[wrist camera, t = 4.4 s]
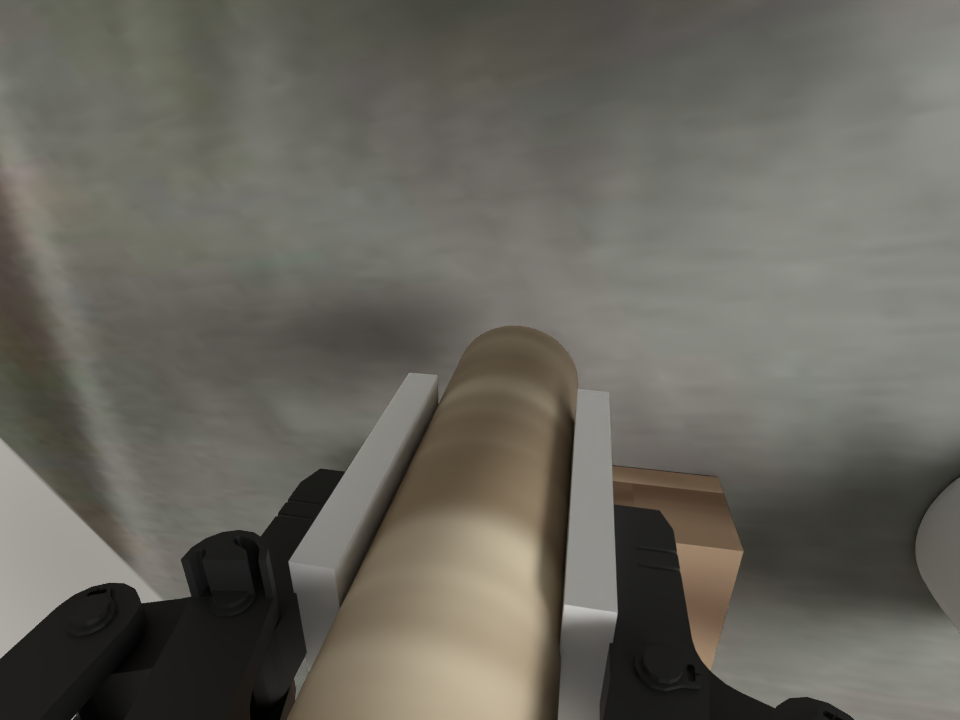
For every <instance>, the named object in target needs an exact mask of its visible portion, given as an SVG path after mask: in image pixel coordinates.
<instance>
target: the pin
mask: <svg viewBox="0 0 960 720" xmlns="http://www.w3.org/2000/svg"><path fill="white" fill-rule="evenodd" d="M577 390H578V377H577V371H576V368H575V365H574V363H573V360H572V358H571V357H570V355H569V354H568V352H567V351H566V350H565V348H564V347H563V346H562V345H561V344H560V343H559V342H558V341H556V340H555V339H554V338H552V337H551V336H549V335H547V334H545V333H544V332H541V331H539V330H536V329H533V328H529V327H523V326H504V327H499V328H495V329H492V330H490V331H487V332H486V333H484V334H482V335H480V336H479V337H477V338H476V339H475V340H474V341H473V342H472V343H471V344H470V345H469V346H468V347H467V349H466V350H465V352H464V354H463V355H462V357H461V359H460V361H459V364H458V366H457V368H456V370H455V372H454V374H453V376H452V378H451V380H450V382H449V384H448V386H447V388H446V390H445V392H444V395H443V397H442V399H441V401H440V403H439V405H438V407H437V409H436V411H435V413H434V415H433V417H432V419H431V421H430V423H429V426H428V428H427V430H426V432H425V434H424V436H423V438H422V440H421V442H420V444H419V446H418V448H417V450H416V452H415V454H414V457H413V459H412V461H411V463H410V465H409V467H408V469H407V471H406V473H405V475H404V477H403V479H402V481H401V483H400V485H399V488H398V490H397V492H396V494H395V496H394V498H393V500H392V502H391V504H390V506H389V508H388V510H387V512H386V514H385V516H384V519H383V521H382V523H381V525H380V527H379V529H378V531H377V533H376V535H375V537H374V539H373V541H372V543H371V545H370V547H369V550H368V552H367V554H366V556H365V558H364V560H363V562H362V564H361V566H360V568H359V570H358V572H357V574H356V576H355V578H354V581H353V583H352V585H351V587H350V589H349V591H348V593H347V595H346V597H345V599H344V601H343V603H342V605H341V607H340V609H339V612H338V614H337V616H336V618H335V620H334V622H333V624H332V626H331V628H330V630H329V632H328V634H327V636H326V638H325V640H324V643H323V645H322V647H321V649H320V651H319V653H318V655H317V657H316V659H315V661H314V663H313V665H312V667H311V669H310V671H309V674H308V676H307V678H306V680H305V682H304V684H303V686H302V688H301V690H300V692H299V694H298V696H297V698H296V700H295V702H294V704H293V707H292V709H291V711H290V713H289V715H288V717H287V719H286V720H558V707H559V691H560V674H561V655H560V649H559V648H560V633H561V617H562V602H563V587H564V572H565V556H566V541H567V526H568V511H569V495H570V480H571V465H572V449H573V434H574V420H575V410H576V400H577Z"/></svg>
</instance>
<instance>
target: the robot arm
mask: <svg viewBox="0 0 960 720" xmlns="http://www.w3.org/2000/svg"><path fill="white" fill-rule="evenodd" d="M437 407H438V375H431V374H420V373H410V372H409V373H408V375H407V377H406V378H405V380H404V381H403V383H402V384H401V386H400V387H399V389H398V391H397V392H396V394H395V395H394V397H393V398H392V400H391V402H390V403H389V405H388V406H387V408H386V409H385V411H384V413H383V414H382V416H381V417H380V419H379V420H378V422H377V424H376V425H375V427H374V428H373V430H372V431H371V433H370V435H369V436H368V438H367V439H366V441H365V442H364V444H363V445H362V447H361V449H360V450H359V452H358V453H357V455H356V456H355V458H354V460H353V461H352V463H351V464H350V466H349V467H348V469H347V471H346V472H343V471H335V470H327V469H319V470H318V471H316V472H315V473H313V474H312V475H311V476H309V477H308V478H306V479H305V480H303V481H302V482H301V483H300V484H299V485H298V487H297V488H296V489H295V491H294V492H293V493H292V495H291V496H290V498H289V499H288V503H287V502H286V503H285V504H284V506H283V507H282V509H281V510H280V511H279V513H278V516H277V517H275V518H274V519H273V521H272V522H271V524H270V525H269V526H268V528H267V529H266V530H265V532H264V533H263V534H262V536H261V537H260V536H259V535H257V534H255V533H254V532H248V531H242V530H236V531H227V532H222V533H219V534H216V535H213V536H211V537H208V538H206V539H204V540H203V541H201V542H200V543H198V544H196V545H195V546H193V547H192V548H191V549H190V550H189V551H188V552H187V553H186V554H185V556H184V557H183V558H182V559H181V562H182V565H183V568H184V572H185V575H186V579H187V582H188V586H189V589H190V593H191V596H192V597H187V598H182V599H175V600H167V601H158V602H150V603H141V601H140V598H139V596H138V594H137V592H136V590H135V589H134V588H132V587H130V586H128V585H126V584H124V583H107V584H103V585H98V586H93V587H91V588H88V589H86V590H84V591H82V592H79V593H77V594H75V595H74V596H72V597H70V598H69V599H68V600H66V601H65V602H64V603H62V604H61V605H59V606H58V607H57V608H56V609H55V610H53V611H52V612H51V613H50V614H49V615H48V616H47V617H46V618H45V619H44V620H42V621H41V622H40V623H39V624H38V625H37V626H36V627H35V628H34V629H33V630H32V631H30V632H29V633H28V634H27V635H26V636H25V637H24V638H23V639H22V640H20V642H18V643H17V644H16V645H15V646H14V647H13V648H12V649H11V650H10V651H8V652H7V653H6V654H5V655H4V656H3V657H2V658H1V659H0V720H71V719H72V718H73V717H74V716H75V714H76V716H75V717H74V719H73V720H286V719H287V717H288V715H289V713H290V711H291V709H292V707H293V704H294V702H295V693H296V687H295V682H294V677H295V675H296V673H297V671H298V669H299V667H300V665H301V663H302V661H303V659H304V657H306V663H307V668H308V674H309V671H310V669H311V667H312V665H313V663H314V661H315V659H316V657H317V655H318V653H319V651H320V649H321V647H322V645H323V643H324V640H325V638H326V636H327V634H328V632H329V630H330V628H331V626H332V624H333V622H334V620H335V618H336V616H337V614H338V612H339V609H340V607H341V605H342V603H343V601H344V599H345V597H346V595H347V593H348V591H349V589H350V587H351V585H352V583H353V581H354V578H355V576H356V574H357V572H358V570H359V568H360V566H361V564H362V562H363V560H364V558H365V556H366V554H367V552H368V550H369V547H370V545H371V543H372V541H373V539H374V537H375V535H376V533H377V531H378V529H379V527H380V525H381V523H382V521H383V519H384V516H385V514H386V512H387V510H388V508H389V506H390V504H391V502H392V500H393V498H394V496H395V494H396V492H397V490H398V488H399V485H400V483H401V481H402V479H403V477H404V475H405V473H406V471H407V469H408V467H409V465H410V463H411V461H412V459H413V457H414V454H415V452H416V450H417V448H418V446H419V444H420V442H421V440H422V438H423V436H424V434H425V432H426V430H427V428H428V426H429V423H430V421H431V419H432V417H433V415H434V413H435V411H436V409H437ZM559 649H560V655H561V674H560V691H559V707H558V720H854V719H853V718H852V717H851V716H850V715H848V714H846V713H845V712H843V711H841V710H839V709H838V708H836V707H834V706H832V705H831V704H829V703H826V702H823V701H819V700H816V699H812V698H809V697H801V698H789V699H787V700H786V701H784V702H783V703H781V704H780V705H778V706H776V709H775V708H773V707H771V706H769V705H767V704H764V703H762V702H760V701H758V700H756V699H754V698H751V697H749V696H747V695H745V694H743V693H741V692H739V691H737V690H735V689H733V688H732V687H730V686H728V685H726V684H725V683H724V682H723V681H721V680H720V679H719V678H718V677H716V676H715V675H714V674H713V673H712V672H711V671H710V670H709V669H708V668H707V666H706V665H705V664H704V663H703V662H702V660H701V658H700V657H699V655H698V653H697V652H696V650H695V647H694V643H693V640H692V636H691V630H690V624H689V618H688V612H687V606H686V601H685V595H684V589H683V583H682V577H681V573H680V565H679V559H678V555H677V548H676V542H675V536H674V530H673V528H672V527H671V525H670V524H669V523H668V521H667V520H666V518H665V517H664V516H663V514H662V513H661V511H660V510H654V509H647V508H639V507H631V506H623V505H615V504H613V480H612V454H611V429H610V403H609V392H605V391H595V390H585V389H578V390H577V400H576V410H575V420H574V434H573V449H572V465H571V480H570V495H569V511H568V526H567V541H566V556H565V572H564V587H563V602H562V617H561V633H560V648H559Z"/></svg>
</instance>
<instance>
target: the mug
mask: <svg viewBox="0 0 960 720" xmlns="http://www.w3.org/2000/svg"><path fill="white" fill-rule="evenodd" d="M915 555H916V561H917V565H918V568H919V571H920V574H921V576H922V579H923V581H924V582H925V584H926V585H927V587H928V589H929V590H930V592H931V594H932V595H933V597H934V598H935V600H936V601H937V603H938V604H939V605H940V607H941V608H942V610H943V611H944V612H945V614H946V615H947V616H948V618H949V619H950V620H951V622H952V623H953V624H954V626H955V627H956V629H957V630H958V631H959V633H960V477H959V478H958V479H956V480H955V481H954V482H952V483H951V484H950V485H949V486H948V487H947V488H946V489H945V490H944V491H942V492H941V493H940V494H939V496H938V497H937V498H936V499H935V500H934V502H933V503H932V504H931V505H930V507H929V508H928V510H927V512H926V513H925V515H924V517H923V519H922V521H921V524H920V526H919V529H918V533H917V537H916V541H915Z"/></svg>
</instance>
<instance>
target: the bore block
mask: <svg viewBox="0 0 960 720" xmlns="http://www.w3.org/2000/svg"><path fill="white" fill-rule="evenodd" d="M612 480H613V504H615V505H623V506H631V507H639V508H647V509H654V510H660V511H661V513H662V514H663V516H664V517H665V518H666V520H667V521H668V523H669V524H670V525H671V527H672V528H673V530H674V536H675V542H676V548H677V555H678V559H679V565H680V573H681V577H682V583H683V589H684V595H685V601H686V606H687V612H688V618H689V624H690V630H691V636H692V640H693V643H694V647H695V650H696V652H697V653H698V655H699V657H700V658H701V660H702V662H703V663H704V664H705V665H706V666H707V668H708V669H709V670H710V671H711V668H712V664H713V660H714V657H715V653H716V649H717V646H718V642H719V639H720V635H721V631H722V628H723V624H724V620H725V617H726V613H727V610H728V606H729V602H730V599H731V595H732V591H733V588H734V584H735V581H736V577H737V573H738V570H739V566H740V562H741V559H742V555H743V552H744V551H743V548H742V545H741V542H740V540H739V537H738V534H737V531H736V528H735V525H734V522H733V519H732V516H731V513H730V511H729V508H728V505H727V502H726V499H725V496H724V493H723V490H722V487H721V484H720V481H719V479H718V477H712V476H703V475H693V474H684V473H675V472H666V471H656V470H647V469H638V468H628V467H619V466H612Z"/></svg>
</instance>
